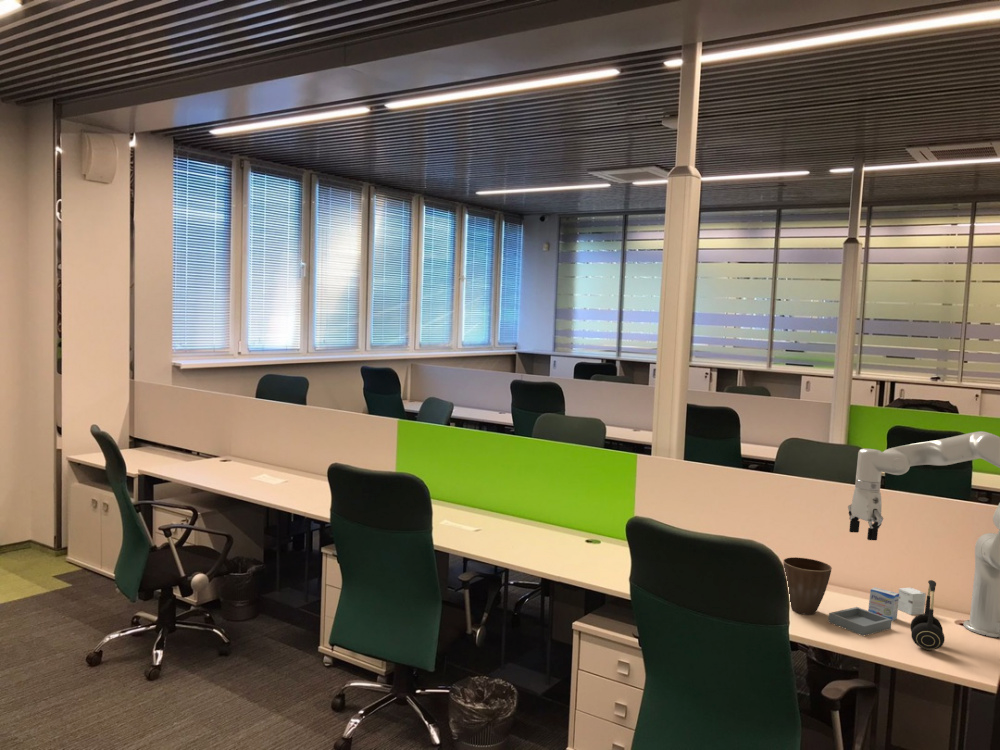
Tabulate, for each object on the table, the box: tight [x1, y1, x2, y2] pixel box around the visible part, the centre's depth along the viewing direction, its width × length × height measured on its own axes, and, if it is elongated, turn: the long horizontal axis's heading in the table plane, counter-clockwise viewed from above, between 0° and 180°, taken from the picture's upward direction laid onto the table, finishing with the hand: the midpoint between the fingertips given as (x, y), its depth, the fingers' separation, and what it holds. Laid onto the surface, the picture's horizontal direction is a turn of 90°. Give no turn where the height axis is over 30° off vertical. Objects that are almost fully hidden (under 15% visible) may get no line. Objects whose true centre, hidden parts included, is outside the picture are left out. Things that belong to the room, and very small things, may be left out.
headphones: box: [910, 579, 946, 651], centre depth 229 cm, size 9×15×20 cm, turn 154°
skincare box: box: [897, 587, 927, 616], centre depth 261 cm, size 6×6×7 cm
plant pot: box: [782, 556, 833, 616], centre depth 253 cm, size 15×15×16 cm
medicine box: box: [867, 586, 899, 622], centre depth 254 cm, size 8×4×9 cm, turn 45°
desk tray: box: [827, 606, 893, 637], centre depth 243 cm, size 12×15×3 cm
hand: (862, 536), depth 256 cm, fingers open, 9 cm apart
